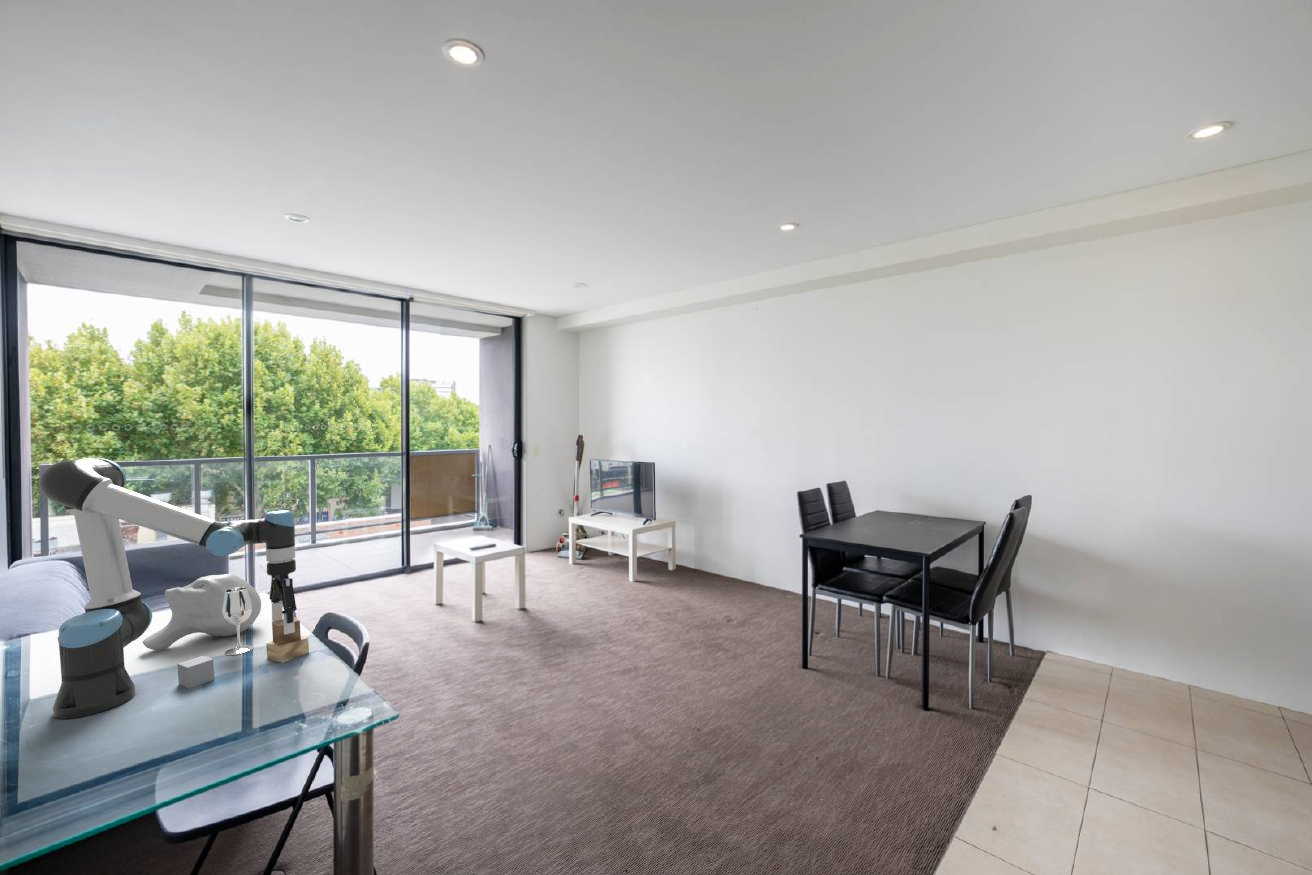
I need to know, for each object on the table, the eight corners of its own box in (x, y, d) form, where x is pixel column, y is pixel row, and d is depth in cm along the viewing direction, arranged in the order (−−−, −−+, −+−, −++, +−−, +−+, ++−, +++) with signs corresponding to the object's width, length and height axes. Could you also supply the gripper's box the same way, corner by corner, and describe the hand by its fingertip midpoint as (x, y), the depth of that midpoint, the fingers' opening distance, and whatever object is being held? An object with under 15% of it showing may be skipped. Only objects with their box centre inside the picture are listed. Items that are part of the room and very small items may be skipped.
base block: (282, 663, 168) (281, 647, 168) (267, 659, 172) (266, 643, 171) (309, 653, 175) (308, 637, 175) (293, 649, 179) (292, 634, 179)
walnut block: (278, 645, 169) (277, 626, 169) (272, 640, 173) (271, 622, 173) (300, 639, 174) (299, 620, 174) (295, 634, 178) (294, 616, 178)
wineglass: (241, 655, 175) (238, 592, 174) (217, 656, 175) (214, 593, 174) (260, 645, 182) (256, 585, 182) (236, 646, 183) (233, 586, 182)
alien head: (115, 608, 181) (224, 551, 203) (159, 665, 189) (259, 604, 211) (125, 621, 167) (240, 558, 190) (172, 682, 176) (277, 615, 198)
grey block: (188, 688, 153) (187, 667, 153) (178, 684, 156) (177, 663, 155) (214, 679, 158) (213, 659, 158) (204, 675, 161) (202, 655, 161)
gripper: (306, 564, 167) (309, 633, 167) (284, 552, 184) (286, 615, 184) (277, 569, 162) (279, 641, 162) (257, 556, 178) (259, 621, 179)
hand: (283, 627), depth 173 cm, fingers open, 13 cm apart
